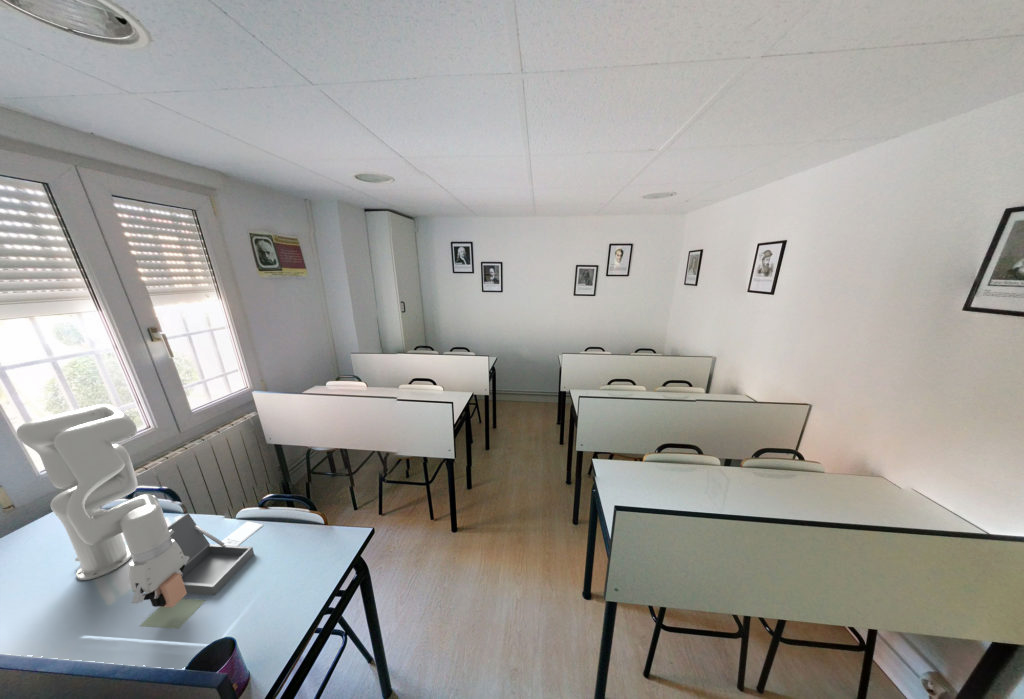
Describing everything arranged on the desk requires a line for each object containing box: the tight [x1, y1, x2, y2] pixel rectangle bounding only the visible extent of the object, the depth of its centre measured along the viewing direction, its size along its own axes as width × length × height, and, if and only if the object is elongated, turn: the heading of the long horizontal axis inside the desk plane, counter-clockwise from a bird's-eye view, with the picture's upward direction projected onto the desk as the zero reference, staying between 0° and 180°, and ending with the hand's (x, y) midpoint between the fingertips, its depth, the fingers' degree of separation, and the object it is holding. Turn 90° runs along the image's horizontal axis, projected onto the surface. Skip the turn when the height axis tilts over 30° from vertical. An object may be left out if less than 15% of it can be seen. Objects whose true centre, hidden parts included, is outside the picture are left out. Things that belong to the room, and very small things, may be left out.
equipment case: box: [168, 513, 255, 596], centre depth 104 cm, size 22×15×17 cm
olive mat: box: [139, 598, 207, 629], centre depth 94 cm, size 12×8×1 cm, turn 88°
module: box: [156, 573, 188, 608], centre depth 91 cm, size 6×4×8 cm, turn 87°
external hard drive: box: [216, 520, 264, 546], centre depth 121 cm, size 2×8×12 cm
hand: (168, 596), depth 92 cm, fingers closed on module, 4 cm apart
